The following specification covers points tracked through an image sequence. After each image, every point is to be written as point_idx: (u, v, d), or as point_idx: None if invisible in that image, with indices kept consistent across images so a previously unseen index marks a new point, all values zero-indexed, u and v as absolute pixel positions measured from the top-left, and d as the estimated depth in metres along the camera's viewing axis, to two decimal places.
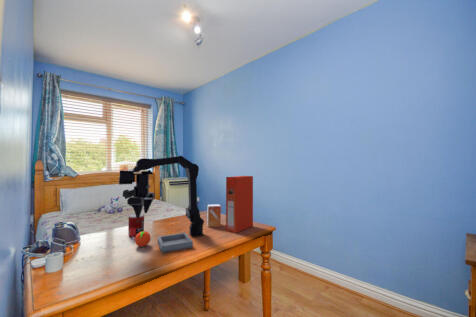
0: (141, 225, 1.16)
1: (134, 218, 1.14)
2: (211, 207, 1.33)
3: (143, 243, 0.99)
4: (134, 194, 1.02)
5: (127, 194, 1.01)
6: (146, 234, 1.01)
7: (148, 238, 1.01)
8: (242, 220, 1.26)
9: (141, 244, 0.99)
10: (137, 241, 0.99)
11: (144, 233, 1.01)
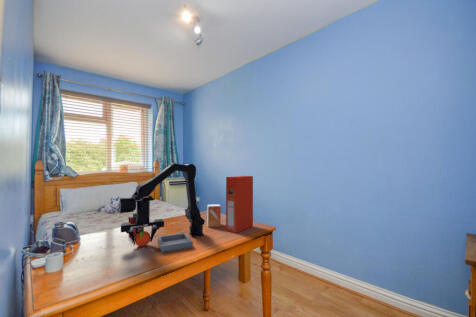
0: None
1: None
2: (211, 207, 1.33)
3: (143, 243, 0.99)
4: (136, 220, 1.03)
5: None
6: (146, 234, 1.01)
7: (148, 238, 1.01)
8: (242, 220, 1.26)
9: (141, 244, 0.99)
10: (137, 241, 0.99)
11: (144, 233, 1.01)
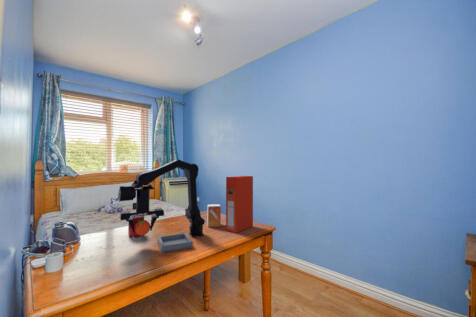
0: None
1: (134, 218, 1.14)
2: (211, 207, 1.33)
3: (143, 231, 0.99)
4: (136, 208, 1.03)
5: None
6: (146, 223, 1.01)
7: (148, 227, 1.01)
8: (242, 220, 1.26)
9: (141, 232, 0.99)
10: (137, 229, 0.99)
11: (144, 222, 1.01)
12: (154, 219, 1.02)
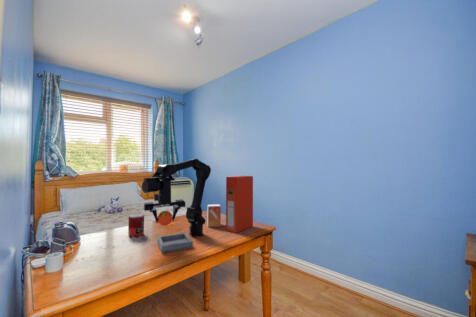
0: (141, 225, 1.16)
1: (134, 218, 1.14)
2: (211, 207, 1.33)
3: (166, 222, 1.01)
4: (158, 200, 1.04)
5: (154, 198, 1.06)
6: (168, 213, 1.03)
7: (170, 217, 1.03)
8: (242, 220, 1.26)
9: (164, 223, 1.01)
10: (160, 220, 1.01)
11: (166, 212, 1.03)
12: (176, 210, 1.03)
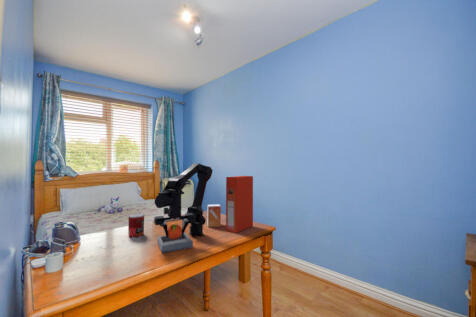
0: (141, 225, 1.16)
1: (134, 218, 1.14)
2: (211, 207, 1.33)
3: (176, 236, 1.01)
4: (168, 213, 1.05)
5: (164, 212, 1.07)
6: (178, 227, 1.03)
7: (180, 231, 1.03)
8: (242, 220, 1.26)
9: (174, 237, 1.01)
10: (170, 234, 1.01)
11: (176, 226, 1.03)
12: (186, 224, 1.04)
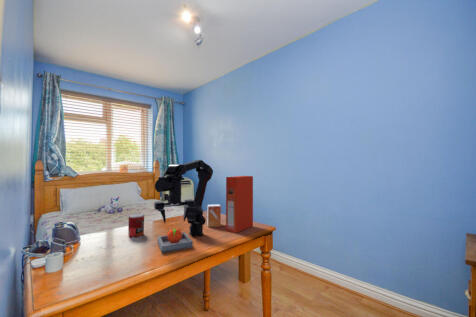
0: (141, 225, 1.16)
1: (134, 218, 1.14)
2: (211, 207, 1.33)
3: (176, 240, 1.01)
4: (168, 199, 1.05)
5: (164, 198, 1.07)
6: (178, 231, 1.03)
7: (180, 235, 1.03)
8: (242, 220, 1.26)
9: (174, 241, 1.01)
10: (170, 238, 1.01)
11: (176, 230, 1.03)
12: (188, 209, 1.04)
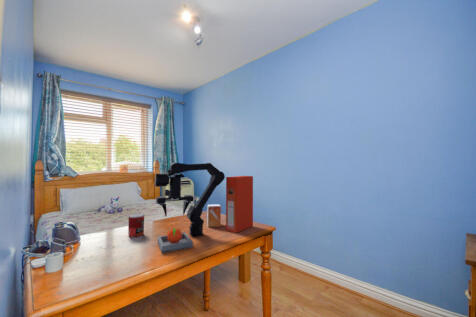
0: (141, 225, 1.16)
1: (134, 218, 1.14)
2: (211, 207, 1.33)
3: (176, 240, 1.01)
4: (168, 194, 1.15)
5: (165, 194, 1.16)
6: (178, 231, 1.03)
7: (180, 235, 1.03)
8: (242, 220, 1.26)
9: (174, 241, 1.01)
10: (170, 238, 1.01)
11: (176, 230, 1.03)
12: (187, 204, 1.14)
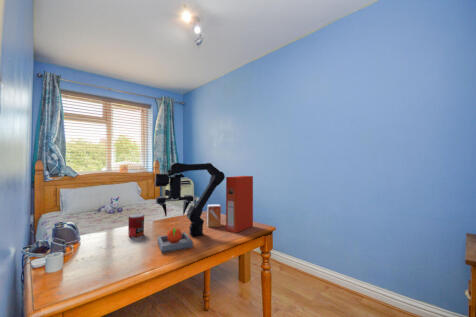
0: (141, 225, 1.16)
1: (134, 218, 1.14)
2: (211, 207, 1.33)
3: (176, 240, 1.01)
4: (168, 194, 1.15)
5: (165, 193, 1.16)
6: (178, 231, 1.03)
7: (180, 235, 1.03)
8: (242, 220, 1.26)
9: (174, 241, 1.01)
10: (170, 238, 1.01)
11: (176, 230, 1.03)
12: (187, 204, 1.14)
